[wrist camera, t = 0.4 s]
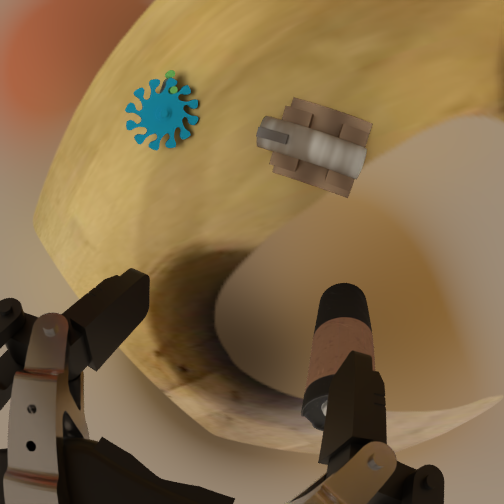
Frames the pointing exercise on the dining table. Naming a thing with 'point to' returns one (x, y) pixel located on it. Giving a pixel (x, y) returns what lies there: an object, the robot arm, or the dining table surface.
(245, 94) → the dining table surface
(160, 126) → the gear
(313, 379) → the travel mug
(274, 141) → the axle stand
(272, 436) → the dining table surface
